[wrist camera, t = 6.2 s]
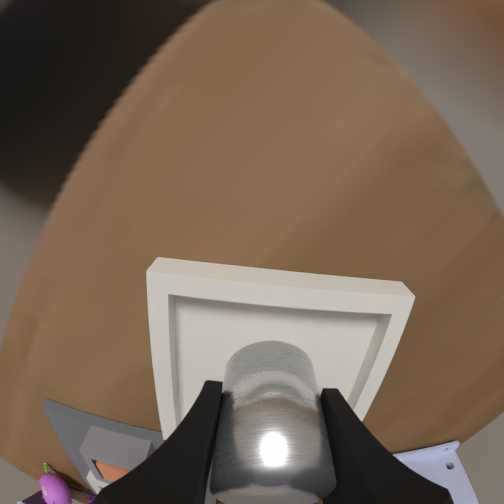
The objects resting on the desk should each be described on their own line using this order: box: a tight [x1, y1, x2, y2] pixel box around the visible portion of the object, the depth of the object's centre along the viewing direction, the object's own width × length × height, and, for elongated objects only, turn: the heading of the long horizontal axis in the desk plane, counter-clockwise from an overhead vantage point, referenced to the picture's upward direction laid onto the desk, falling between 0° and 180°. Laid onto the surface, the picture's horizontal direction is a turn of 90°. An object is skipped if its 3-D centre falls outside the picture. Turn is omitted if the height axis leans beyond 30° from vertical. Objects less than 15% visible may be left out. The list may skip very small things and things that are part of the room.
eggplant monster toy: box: [22, 463, 97, 504], centre depth 17 cm, size 7×5×9 cm
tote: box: [146, 257, 415, 440], centre depth 13 cm, size 10×10×1 cm
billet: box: [210, 341, 336, 504], centre depth 10 cm, size 4×4×6 cm
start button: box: [96, 461, 130, 482], centre depth 14 cm, size 2×2×2 cm
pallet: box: [42, 399, 217, 504], centre depth 17 cm, size 12×16×3 cm
